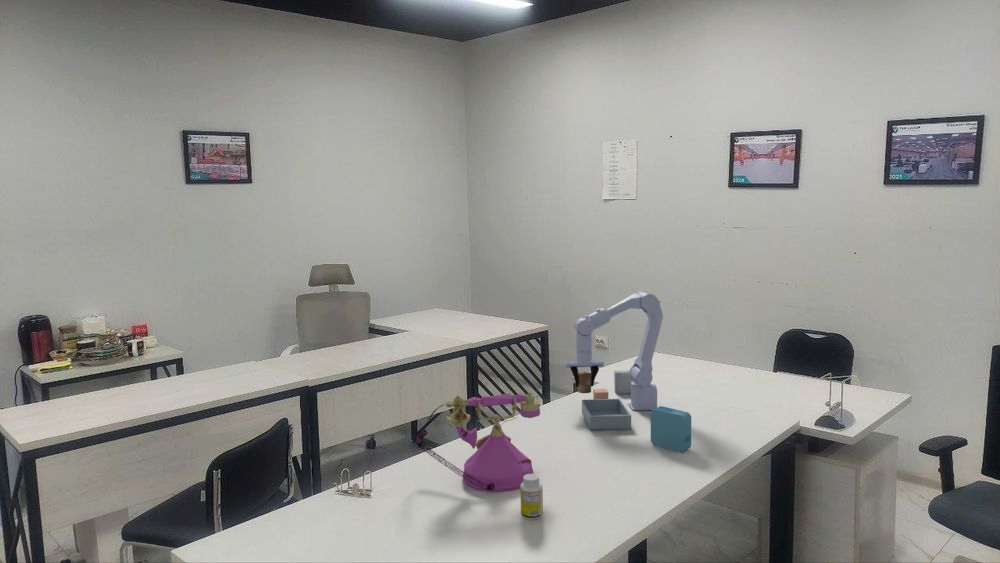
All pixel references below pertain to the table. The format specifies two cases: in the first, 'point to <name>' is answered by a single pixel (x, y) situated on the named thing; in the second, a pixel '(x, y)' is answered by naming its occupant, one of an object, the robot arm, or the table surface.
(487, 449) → the telephone
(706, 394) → the table surface
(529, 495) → the supplement bottle
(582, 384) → the walnut cylinder
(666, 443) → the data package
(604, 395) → the terracotta cube
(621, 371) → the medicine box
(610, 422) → the tote
